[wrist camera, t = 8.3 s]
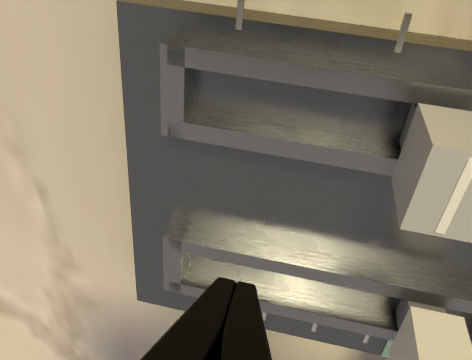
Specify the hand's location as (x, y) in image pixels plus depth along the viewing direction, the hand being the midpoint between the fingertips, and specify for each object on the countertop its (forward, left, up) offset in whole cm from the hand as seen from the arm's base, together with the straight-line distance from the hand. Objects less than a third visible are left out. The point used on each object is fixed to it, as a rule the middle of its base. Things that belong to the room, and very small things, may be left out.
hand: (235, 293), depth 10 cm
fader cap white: (-13, 0, -10) cm, 17 cm away
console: (-7, +1, -12) cm, 14 cm away
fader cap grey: (-4, -4, -10) cm, 12 cm away
